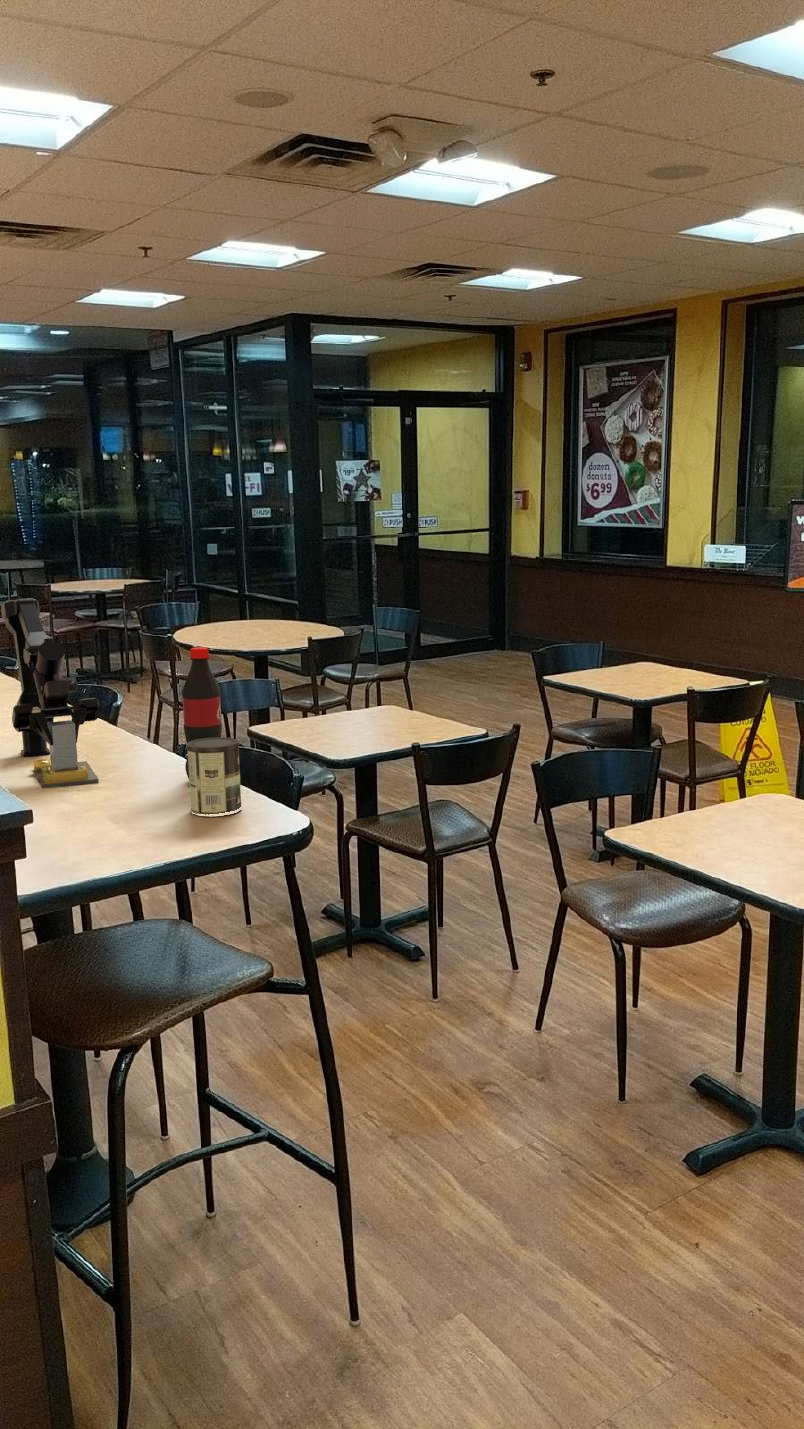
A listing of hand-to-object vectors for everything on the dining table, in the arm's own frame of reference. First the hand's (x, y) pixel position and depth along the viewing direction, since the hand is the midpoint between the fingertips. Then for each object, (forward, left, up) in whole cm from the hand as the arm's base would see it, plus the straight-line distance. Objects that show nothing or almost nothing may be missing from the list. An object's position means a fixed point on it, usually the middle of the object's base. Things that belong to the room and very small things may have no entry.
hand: (63, 743), depth 243 cm
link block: (-1, 0, -7) cm, 7 cm away
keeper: (-5, 0, -9) cm, 10 cm away
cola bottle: (+14, +28, -9) cm, 33 cm away
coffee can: (+40, +24, -9) cm, 47 cm away
